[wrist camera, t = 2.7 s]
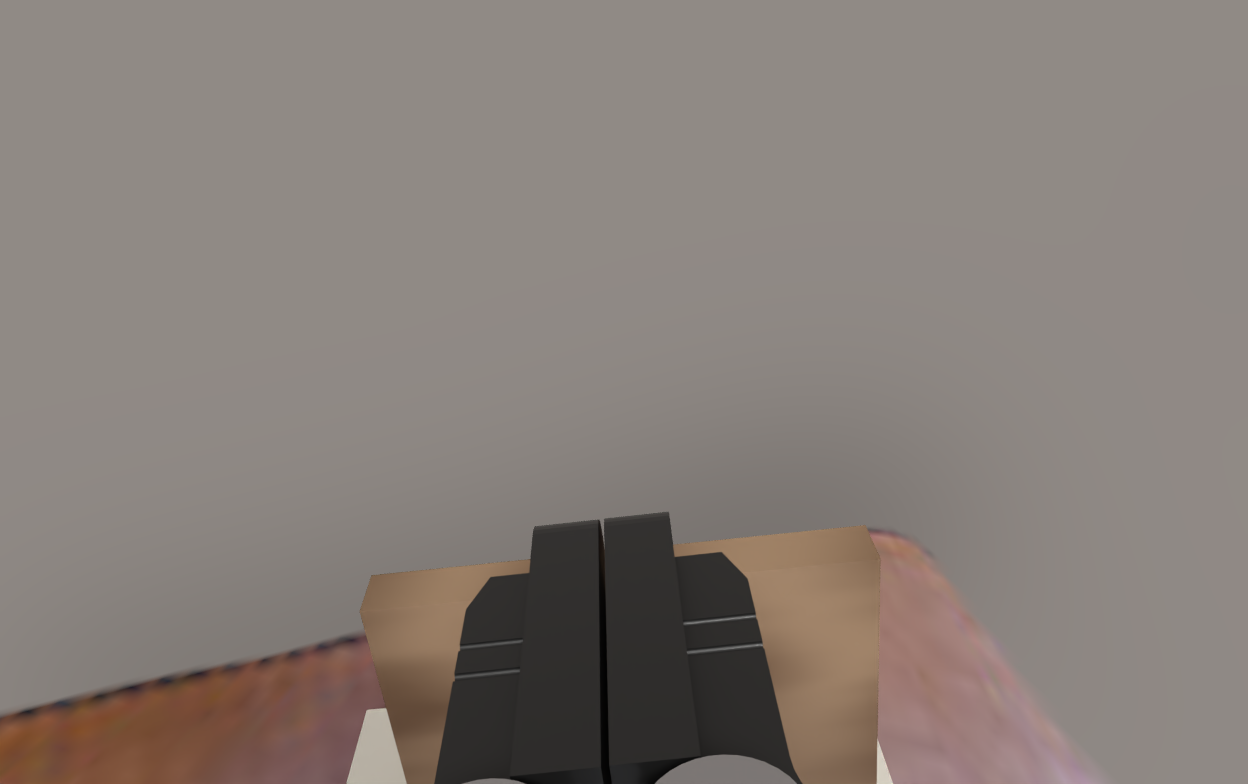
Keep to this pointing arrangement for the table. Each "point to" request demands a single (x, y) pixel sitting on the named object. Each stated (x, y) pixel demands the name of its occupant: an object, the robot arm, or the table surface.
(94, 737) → the table surface
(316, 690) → the table surface
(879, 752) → the plate
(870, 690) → the brown flat streaked slab
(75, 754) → the table surface
